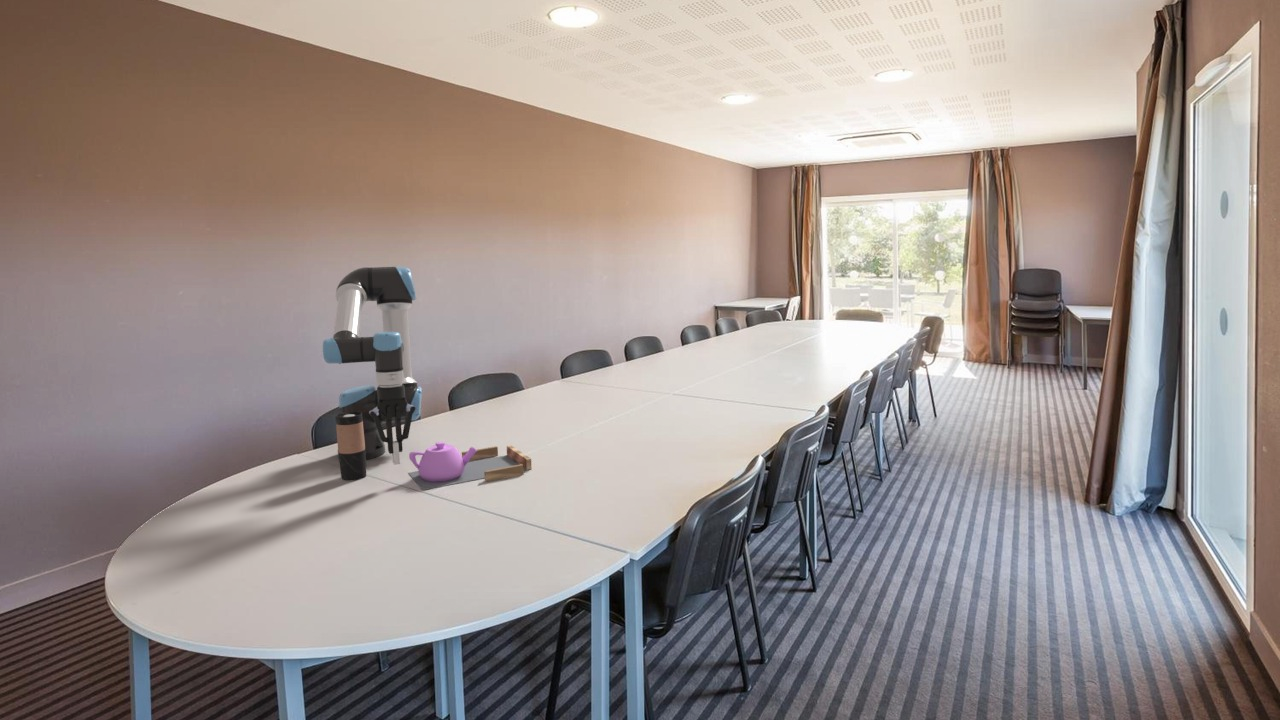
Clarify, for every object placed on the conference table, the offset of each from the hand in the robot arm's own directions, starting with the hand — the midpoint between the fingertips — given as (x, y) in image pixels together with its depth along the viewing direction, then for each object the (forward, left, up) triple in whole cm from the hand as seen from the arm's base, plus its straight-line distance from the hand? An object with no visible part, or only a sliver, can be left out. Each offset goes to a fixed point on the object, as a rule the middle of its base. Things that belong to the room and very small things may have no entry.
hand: (396, 463), depth 191 cm
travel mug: (-15, -10, -7) cm, 20 cm away
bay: (0, +30, -7) cm, 31 cm away
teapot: (0, +14, -7) cm, 16 cm away
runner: (0, +22, -7) cm, 23 cm away
